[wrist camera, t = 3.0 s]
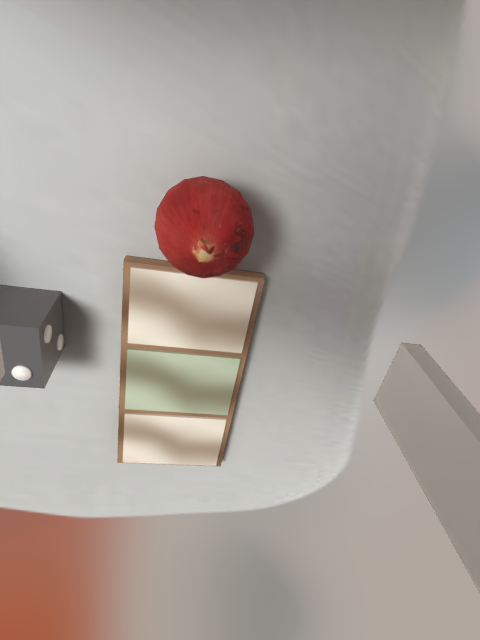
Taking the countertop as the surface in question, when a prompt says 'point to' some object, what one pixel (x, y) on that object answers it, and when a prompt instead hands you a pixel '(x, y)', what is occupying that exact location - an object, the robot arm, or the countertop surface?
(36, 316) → the die
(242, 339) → the board
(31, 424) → the countertop surface
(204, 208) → the onion
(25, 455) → the countertop surface
